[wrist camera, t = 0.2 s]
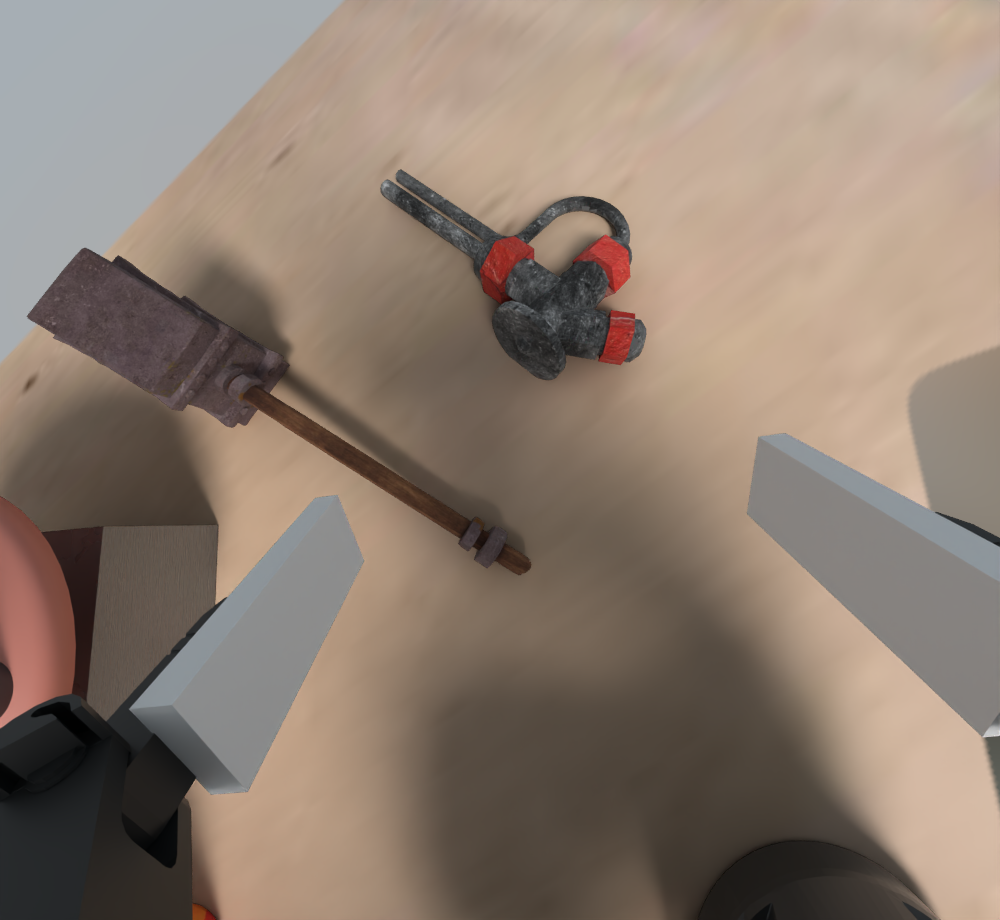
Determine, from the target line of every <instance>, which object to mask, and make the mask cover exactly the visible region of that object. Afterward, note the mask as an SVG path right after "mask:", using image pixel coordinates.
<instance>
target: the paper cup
mask: <svg viewBox="0 0 1000 920" xmlns="http://www.w3.org/2000/svg"><path fill="white" fill-rule="evenodd" d="M192 912H193V920H216V919H215V917H214V916H213V915H212V914H211V913H210V912H209V911H208V910H207V909H206V908H204V907H202V906H200V905H197V904H193V903H192Z"/></svg>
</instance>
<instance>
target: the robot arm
mask: <svg viewBox="0 0 1000 920" xmlns="http://www.w3.org/2000/svg"><path fill="white" fill-rule="evenodd" d="M747 514H748V515H749V516H750V517H751V518H752V519H753V520H754V521H755V522H756V523H757V524H758V525H759V526H760V527H761V528H762V529H763V530H764V531H765V532H767V533H768V534H769V535H770V536H771V537H772V538H773V539H774V540H775V541H776V542H777V543H778V544H779V545H780V546H781V547H782V548H783V549H784V550H786V551H787V552H788V553H789V554H790V555H791V556H792V557H793V558H794V559H795V560H796V561H797V562H798V563H799V564H800V565H801V566H802V567H803V568H805V569H806V570H807V571H808V572H809V573H810V574H811V575H812V576H813V577H814V578H815V579H816V580H817V581H818V582H819V583H820V584H821V585H822V586H824V587H825V588H826V589H827V590H828V591H829V592H830V593H831V594H832V595H833V596H834V597H835V598H836V599H837V600H838V601H839V602H840V603H841V604H843V605H844V606H845V607H846V608H847V609H848V610H849V611H850V612H851V613H852V614H853V615H854V616H855V617H856V618H857V619H858V620H859V621H860V622H862V623H863V624H864V625H865V626H866V627H867V628H868V629H869V630H870V631H871V632H872V633H873V634H874V635H875V636H876V637H877V638H878V639H879V640H881V641H882V642H883V643H884V644H885V645H886V646H887V647H888V648H889V649H890V650H891V651H892V652H893V653H894V654H895V655H896V656H897V657H898V658H900V659H901V660H902V661H903V662H904V663H905V664H906V665H907V666H908V667H909V668H910V669H911V670H912V671H913V672H914V673H915V674H916V675H917V676H919V677H920V678H921V679H922V680H923V681H924V682H925V683H926V684H927V685H928V686H929V687H930V688H931V689H932V690H933V691H934V692H935V693H936V694H938V695H939V696H940V697H941V698H942V699H943V700H944V701H945V702H946V703H947V704H948V705H949V706H950V707H951V708H952V709H953V710H954V711H955V712H957V713H958V714H959V715H960V716H961V717H962V718H963V719H964V720H965V721H966V722H967V723H968V724H969V725H970V726H971V727H972V728H973V729H974V730H976V731H977V732H978V733H979V734H980V735H981V736H982V737H990V736H1000V538H999V537H997V536H994V535H993V534H991V533H989V532H987V531H985V530H983V529H981V528H979V527H977V526H975V525H974V524H971V523H967V522H965V521H962V520H959V519H956V518H953V517H950V516H947V515H944V514H941V513H938V512H933V511H931V510H929V509H927V508H925V507H923V506H922V505H920V504H918V503H916V502H914V501H912V500H910V499H908V498H906V497H905V496H903V495H901V494H899V493H897V492H895V491H893V490H891V489H890V488H888V487H886V486H884V485H882V484H880V483H878V482H876V481H874V480H873V479H871V478H869V477H867V476H865V475H863V474H861V473H859V472H858V471H856V470H854V469H852V468H850V467H848V466H846V465H844V464H842V463H841V462H839V461H837V460H835V459H833V458H831V457H829V456H827V455H825V454H824V453H822V452H820V451H818V450H816V449H814V448H812V447H810V446H809V445H807V444H805V443H803V442H801V441H799V440H797V439H795V438H793V437H792V436H790V435H788V434H786V433H783V434H776V435H768V436H761V437H758V443H757V449H756V456H755V463H754V469H753V476H752V483H751V489H750V496H749V503H748V509H747ZM363 562H364V559H363V557H362V554H361V552H360V549H359V547H358V544H357V542H356V539H355V537H354V534H353V532H352V529H351V527H350V524H349V522H348V519H347V517H346V514H345V512H344V509H343V507H342V505H341V502H340V500H339V497H338V495H333V496H326V497H319V498H315V499H314V500H313V501H312V502H311V503H310V504H309V506H308V507H307V508H306V509H305V510H304V511H303V512H302V514H301V515H300V516H299V517H298V518H297V519H296V520H295V521H294V523H293V524H292V525H291V526H290V527H289V528H288V529H287V531H286V532H285V533H284V534H283V535H282V536H281V537H280V538H279V540H278V541H277V542H276V543H275V544H274V545H273V546H272V548H271V549H270V550H269V551H268V552H267V553H266V554H265V555H264V557H263V558H262V559H261V560H260V561H259V562H258V563H257V565H256V566H255V567H254V568H253V569H252V570H251V571H250V573H249V574H248V575H247V576H246V577H245V578H244V579H243V580H242V582H241V583H240V584H239V585H238V586H237V587H236V588H235V590H234V591H233V592H232V593H231V594H230V595H229V596H228V597H226V598H224V599H223V600H222V601H220V602H219V603H218V604H216V605H215V606H214V607H213V608H211V609H210V610H209V611H207V612H206V613H205V614H203V615H202V617H201V618H200V619H199V620H198V621H197V622H196V623H195V624H194V625H193V626H192V628H191V629H190V630H189V631H188V632H187V633H186V637H185V638H182V639H181V640H180V641H179V642H178V643H177V644H176V645H175V646H174V647H173V648H172V649H171V653H170V654H169V655H166V656H165V657H164V658H163V659H162V660H161V662H160V663H159V664H158V665H157V666H156V667H155V668H154V669H153V670H152V671H151V673H150V674H149V675H148V676H147V677H146V678H145V679H144V680H143V681H142V682H141V684H140V685H139V686H138V687H137V688H136V689H135V690H134V691H133V692H132V693H131V695H130V696H129V697H128V698H127V699H126V700H125V701H124V702H123V703H122V704H121V706H120V707H119V708H118V709H117V710H116V711H115V712H114V713H113V714H112V715H111V717H110V718H109V719H108V720H107V721H105V720H104V719H103V718H102V717H101V716H100V715H99V714H98V713H97V712H96V711H95V710H94V709H93V708H92V707H91V706H90V705H89V704H88V703H87V702H86V701H85V700H84V699H83V698H81V697H80V696H77V695H74V694H68V695H63V696H58V697H55V698H52V699H50V700H48V701H45V702H43V703H41V704H38V705H36V706H34V707H33V708H31V709H29V710H28V711H26V712H24V713H22V714H21V715H19V716H17V717H16V718H14V719H12V720H11V721H10V722H8V723H7V724H6V725H4V726H3V727H2V728H0V920H193V912H192V843H191V809H190V806H189V803H188V801H187V800H186V799H185V798H184V796H185V795H186V793H187V792H188V790H189V788H190V787H191V785H192V784H193V782H194V780H195V779H197V780H198V782H199V783H200V784H201V785H202V786H203V787H204V788H205V789H206V790H207V791H208V792H209V793H210V794H211V795H213V794H226V793H239V792H248V790H249V788H250V786H251V784H252V782H253V780H254V778H255V776H256V774H257V772H258V770H259V768H260V766H261V764H262V762H263V760H264V758H265V756H266V755H267V753H268V751H269V749H270V747H271V745H272V743H273V741H274V739H275V737H276V735H277V733H278V731H279V729H280V727H281V725H282V723H283V721H284V719H285V717H286V715H287V713H288V711H289V709H290V707H291V705H292V703H293V701H294V699H295V697H296V695H297V693H298V691H299V689H300V687H301V685H302V683H303V681H304V679H305V677H306V675H307V673H308V671H309V669H310V667H311V665H312V663H313V661H314V659H315V657H316V655H317V653H318V651H319V649H320V647H321V646H322V644H323V642H324V640H325V638H326V636H327V634H328V632H329V630H330V628H331V626H332V624H333V622H334V620H335V618H336V616H337V614H338V612H339V610H340V608H341V606H342V604H343V602H344V600H345V598H346V596H347V594H348V592H349V590H350V588H351V586H352V584H353V582H354V580H355V578H356V576H357V574H358V572H359V570H360V568H361V566H362V564H363ZM698 920H940V919H939V918H938V917H937V916H936V915H935V914H934V913H933V912H932V911H931V910H930V909H929V908H928V907H927V906H926V905H925V904H924V903H923V902H922V901H921V900H920V899H919V898H918V897H917V896H916V895H915V894H913V893H912V892H911V891H910V890H909V889H908V888H907V887H906V886H905V885H904V884H903V883H902V882H901V881H899V880H898V879H897V878H896V877H895V876H893V875H892V874H891V873H889V872H888V871H887V870H885V869H884V868H882V867H881V866H879V865H878V864H876V863H874V862H873V861H871V860H869V859H867V858H865V857H863V856H861V855H859V854H857V853H855V852H852V851H850V850H847V849H844V848H841V847H838V846H834V845H830V844H826V843H820V842H811V841H792V842H783V843H778V844H774V845H770V846H767V847H764V848H761V849H759V850H757V851H754V852H752V853H751V854H749V855H747V856H745V857H744V858H742V859H741V860H739V861H738V862H737V863H735V864H734V865H733V866H732V867H731V868H729V869H728V870H727V871H726V872H725V873H724V874H723V876H722V877H721V878H720V879H719V880H718V882H717V883H716V884H715V886H714V887H713V889H712V890H711V892H710V894H709V895H708V897H707V899H706V901H705V903H704V905H703V907H702V910H701V912H700V915H699V918H698Z"/></svg>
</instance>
